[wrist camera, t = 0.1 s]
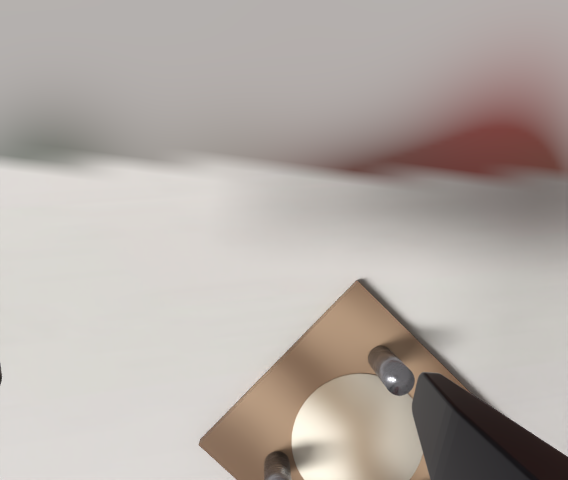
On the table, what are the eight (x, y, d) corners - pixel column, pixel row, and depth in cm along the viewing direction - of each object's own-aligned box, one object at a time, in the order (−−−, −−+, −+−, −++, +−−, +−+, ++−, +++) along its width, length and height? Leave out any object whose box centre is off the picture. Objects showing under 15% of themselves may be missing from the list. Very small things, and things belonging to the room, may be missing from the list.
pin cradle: (355, 581, 25) (373, 650, 21) (200, 439, 24) (187, 482, 20) (505, 428, 25) (551, 468, 21) (356, 280, 24) (375, 292, 20)
